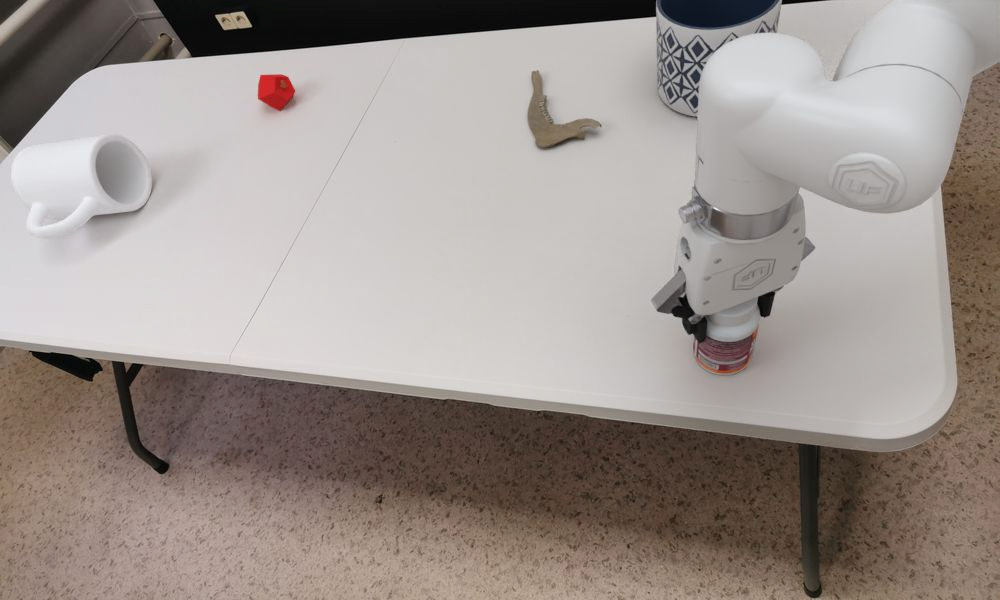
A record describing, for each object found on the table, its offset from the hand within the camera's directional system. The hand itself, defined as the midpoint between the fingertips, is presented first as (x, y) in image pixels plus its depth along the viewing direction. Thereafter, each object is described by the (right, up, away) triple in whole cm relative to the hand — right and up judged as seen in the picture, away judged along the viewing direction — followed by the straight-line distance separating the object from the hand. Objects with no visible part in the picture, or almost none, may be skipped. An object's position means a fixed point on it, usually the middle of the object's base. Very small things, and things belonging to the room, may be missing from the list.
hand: (726, 318), depth 62 cm
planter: (+9, +34, +30) cm, 47 cm away
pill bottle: (+2, -4, +6) cm, 7 cm away
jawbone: (-13, +32, +35) cm, 50 cm away
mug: (-93, +16, +46) cm, 105 cm away
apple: (-64, +39, +54) cm, 92 cm away
